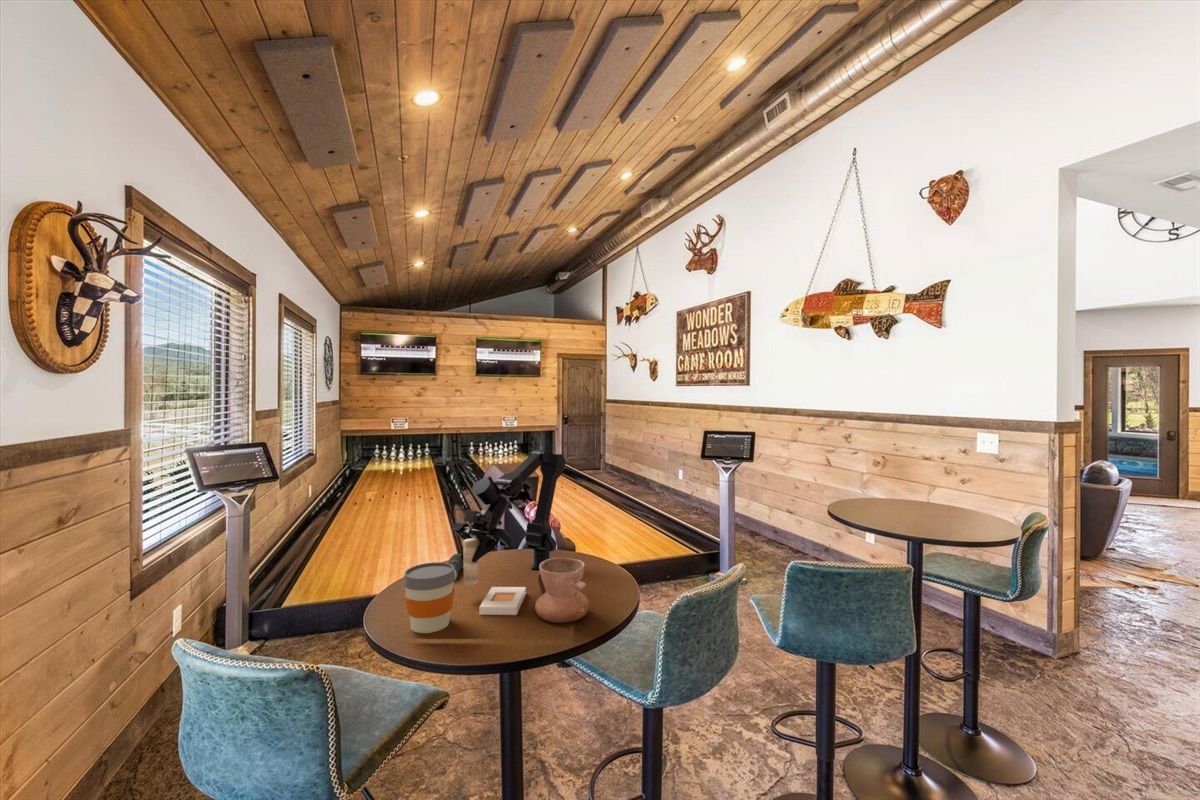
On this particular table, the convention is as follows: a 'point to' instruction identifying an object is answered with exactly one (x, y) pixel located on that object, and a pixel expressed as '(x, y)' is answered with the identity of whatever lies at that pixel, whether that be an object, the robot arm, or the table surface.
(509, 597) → the breaker button
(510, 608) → the frame
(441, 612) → the reusable coffee cup
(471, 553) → the cream ridged cylinder
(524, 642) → the table surface
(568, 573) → the ceramic jug
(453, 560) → the grey shaker
